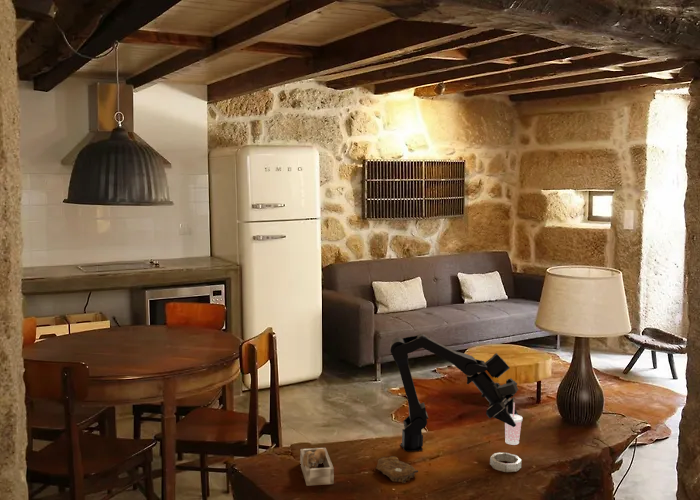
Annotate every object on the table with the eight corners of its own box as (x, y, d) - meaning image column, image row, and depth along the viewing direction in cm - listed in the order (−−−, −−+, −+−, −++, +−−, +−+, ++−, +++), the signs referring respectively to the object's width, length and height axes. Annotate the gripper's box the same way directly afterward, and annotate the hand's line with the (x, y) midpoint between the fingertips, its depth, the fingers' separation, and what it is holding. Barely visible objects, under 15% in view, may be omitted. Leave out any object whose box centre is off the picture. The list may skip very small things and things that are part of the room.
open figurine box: (306, 485, 218) (306, 470, 217) (300, 463, 234) (300, 449, 233) (333, 483, 219) (333, 468, 219) (325, 462, 235) (325, 447, 235)
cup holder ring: (497, 472, 230) (497, 465, 230) (486, 460, 239) (486, 453, 239) (525, 470, 232) (525, 463, 231) (513, 459, 241) (513, 452, 241)
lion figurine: (314, 482, 219) (314, 455, 218) (298, 480, 221) (298, 452, 220) (331, 464, 233) (331, 438, 232) (316, 462, 235) (316, 436, 234)
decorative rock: (365, 471, 231) (396, 489, 219) (365, 459, 230) (396, 477, 218) (392, 460, 238) (423, 478, 226) (392, 449, 237) (423, 466, 225)
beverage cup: (525, 443, 242) (527, 404, 240) (512, 447, 239) (514, 407, 237) (511, 437, 247) (513, 398, 245) (499, 441, 244) (501, 401, 242)
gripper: (497, 380, 233) (529, 418, 230) (510, 366, 250) (540, 402, 247) (473, 399, 238) (503, 437, 234) (487, 384, 254) (516, 419, 251)
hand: (517, 423), depth 241 cm, fingers closed on beverage cup, 6 cm apart
